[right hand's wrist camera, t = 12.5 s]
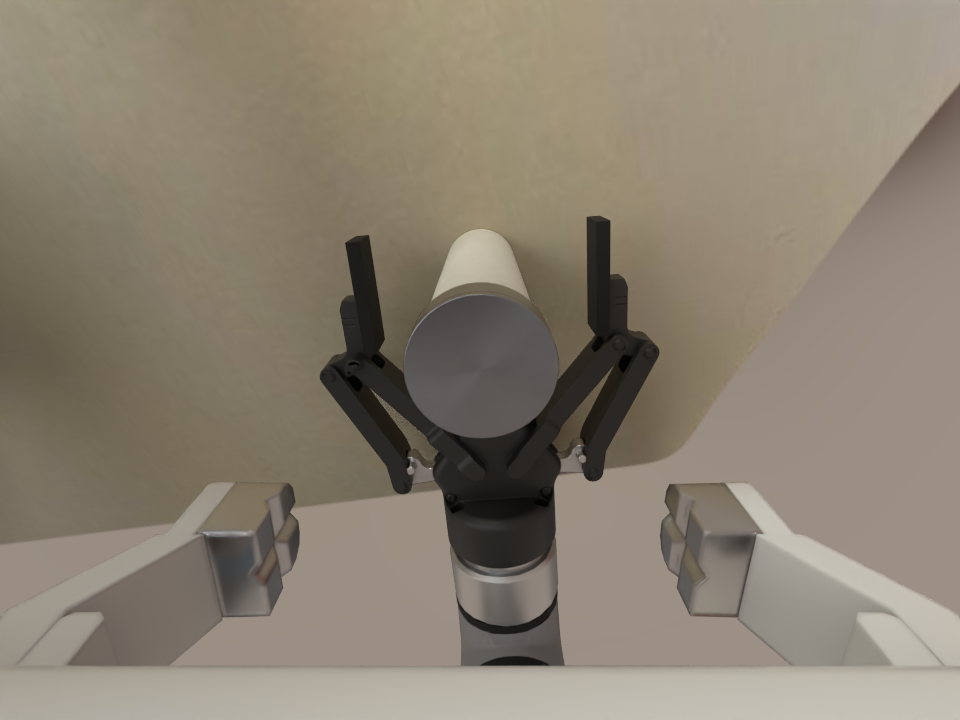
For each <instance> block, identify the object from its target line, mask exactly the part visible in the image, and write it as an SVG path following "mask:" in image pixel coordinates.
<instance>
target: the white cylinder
mask: <svg viewBox="0 0 960 720" xmlns="http://www.w3.org/2000/svg"><path fill="white" fill-rule="evenodd" d="M475 282H488V283H494V284H499V285H503V286H506V287H508V288H511V289H513V290H515V291H517V292H519V293H520V294H522V295H524V296H525V297H526V298H527V299H529V300H530V298H529V295H528V293H527V290H526V287H525V284H524V282H523V279H522V276H521V273H520V270H519V268H518V265H517V262H516V259H515V257H514V254H513V251H512V249H511V247H510V245H509V243H508V242H507V241H506V240H505V239H504V238H503V237H502V236H501V235H499V234H498V233H496V232H493V231H490V230H486V229H476V230H471V231H469V232H466V233H464V234H463V235H461V236H460V237H459V238H458V239H457V240H456V241H455V242H454V243H453V245H452V246H451V248H450V251H449V253H448V256H447V259H446V262H445V264H444V267H443V270H442V273H441V276H440V278H439V281H438V284H437V287H436V290H435V292H434V295H433V298H432V300H433V299H435V298H436V297H437V296H439V295H440V294H442V293H443V292H445V291H447V290H449V289H451V288H454V287H456V286H459V285H463V284H467V283H475Z"/></svg>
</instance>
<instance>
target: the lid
mask: <svg viewBox="0 0 960 720" xmlns="http://www.w3.org/2000/svg"><path fill="white" fill-rule="evenodd" d="M403 367H404V378H405V383H406V386H407V389H408V392H409V394H410V396H411V398H412V400H413V402H414V403H415V405H416V406H417V408H418V409H419V410H420V411H421V412H422V413H423V415H424V416H426V417H427V418H428V419H429V420H430V421H431V422H433V423H434V424H436V425H437V426H438V427H440V428H442V429H444V430H446V431H448V432H451V433H453V434H456V435H460V436H464V437H470V438H493V437H498V436H503V435H506V434H509V433H512V432H514V431H516V430H518V429H520V428H522V427H523V426H525V425H527V424H528V423H530V422H531V421H532V420H533V419H534V418H535V417H537V416H538V414H539V413H540V412H541V411H542V410H543V409H544V408H545V406H546V405H547V403H548V402H549V400H550V398H551V396H552V394H553V392H554V389H555V386H556V383H557V378H558V370H559V362H558V354H557V349H556V345H555V343H554V340H553V337H552V335H551V332H550V330H549V328H548V325H547V323H546V321H545V319H544V317H543V315H542V314H541V313H540V311H539V310H538V308H537V307H536V306H535V305H534V304H533V303H532V302H531V301H530V300H529V299H527V298H526V297H525V296H524V295H522V294H520V293H519V292H517V291H515V290H513V289H511V288H508V287H506V286H503V285H499V284H494V283H488V282H475V283H467V284H463V285H459V286H456V287H454V288H451V289H449V290H447V291H445V292H443V293H442V294H440V295H439V296H437V297H436V298H435V299H433V300H432V301H431V302H430V303H429V304H428V305H427V306H426V307H425V309H424V310H423V311H422V313H421V314H420V316H419V317H418V319H417V321H416V323H415V326H414V328H413V331H412V333H411V335H410V338H409V340H408V343H407V346H406V350H405V354H404V362H403Z"/></svg>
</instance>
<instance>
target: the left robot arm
mask: <svg viewBox="0 0 960 720" xmlns="http://www.w3.org/2000/svg"><path fill="white" fill-rule="evenodd" d="M345 244H346V250H347V256H348V261H349V267H350V273H351V279H352V285H353V291H354V295H350V296H347V297H346V298H345V299H344V300H343V301H342V303H341V307H340V313H341V319H342V324H343V330H344V335H345V341H346V346H347V352H345V353H343V354H341V355H339V354H337V355H335V356H333V357H332V358H331V360H330V361H329V362H328V364H327V365H326V366H325V367H324V369H323V370H322V371H321V373H320V380H321V382H322V383H323V384H324V386H325V387H326V388H327V390H328V391H329V392H330V393H331V395H332V396H333V397H334V399H335V400H336V401H337V403H338V404H339V405H340V406H341V408H342V409H343V410H344V412H345V413H346V414H347V415H348V417H349V418H350V419H351V421H352V422H353V423H354V424H355V426H356V427H357V428H358V430H359V431H360V432H361V434H362V435H363V436H364V437H365V439H366V440H367V441H368V443H369V444H370V445H371V446H372V448H373V449H374V450H375V452H376V453H377V454H378V456H379V457H380V458H381V459H382V461H383V462H384V463H385V465H386V466H387V469H388V472H389V475H390V479H391V482H392V485H393V488H394V490H395V491H396V492H397V493H399V494H406V493H408V492H409V491H410V490H411V487H412V484H418V483H424V482H430V481H436V483H437V484H438V485H439V486H440V488H441V490H442V492H443V497H444V505H445V513H446V520H447V528H448V536H449V541H450V544H451V548H450V553H451V560H452V567H453V574H454V581H455V588H456V597H457V602H458V609H459V620H460V631H461V666H565V665H564V659H563V653H562V647H561V640H560V629H559V615H558V602H557V593H558V592H557V586H558V575H557V554H556V539H555V531H556V527H555V501H554V483H555V480H556V478H557V476H558V474H559V473H560V472H571V473H584V476H585V478H586V479H587V480H589V481H597V480H599V479H600V478H601V477H602V475H603V469H604V461H605V454H606V450H607V448H608V446H609V445H610V443H611V441H612V439H613V437H614V436H615V434H616V432H617V430H618V428H619V427H620V425H621V423H622V421H623V419H624V418H625V416H626V414H627V412H628V410H629V408H630V407H631V405H632V403H633V401H634V399H635V398H636V396H637V394H638V392H639V390H640V389H641V387H642V385H643V383H644V381H645V380H646V378H647V376H648V374H649V372H650V371H651V369H652V367H653V365H654V363H655V362H656V360H657V358H658V356H659V349H658V347H657V346H656V345H655V344H654V343H653V342H652V341H651V340H650V339H649V337H648V336H647V335H646V334H644V333H643V332H640V331H638V332H634V331H630V330H628V329H627V299H628V298H627V296H628V287H627V284H626V282H625V279H624V278H623V277H621V276H620V275H619V274H612V275H610V220H608V219H606V218H603V217H601V216H591V217H587V293H588V324H589V326H590V327H591V329H592V330H593V332H594V333H595V336H594V338H593V339H592V340H591V341H590V342H589V344H588V345H587V346H586V347H585V348H584V350H583V351H582V352H581V353H580V354H579V356H578V357H577V358H576V359H575V360H574V362H573V363H572V364H571V365H570V366H569V368H568V369H567V370H566V371H565V372H564V374H563V375H562V376H561V377H560V378H559V380H558V381H557V383H556V386H555V389H554V392H553V394H552V396H551V398H550V400H549V402H548V403H547V405H546V406H545V408H544V409H543V410H542V411H541V412H540V413H539V414H538V416H537V417H535V418H534V419H533V420H532V421H531V422H530V423H528V424H527V425H525V426H523V427H522V428H520V429H518V430H516V431H514V432H512V433H509V434H506V435H503V436H498V437H493V438H470V437H464V436H460V435H456V434H453V433H451V432H448V431H446V430H444V429H442V428H440V427H438V426H437V425H436V424H434V423H433V422H431V421H430V420H429V419H428V418H427V417H426V416H424V415H423V413H422V412H421V411H420V410H419V409H418V408H417V406H416V405H415V403H414V402H413V400H412V398H411V396H410V394H409V392H408V389H407V386H406V383H405V378H404V373H403V372H402V371H400V370H399V369H398V368H397V367H396V366H395V365H394V364H393V363H391V362H390V361H389V360H388V359H387V358H386V357H385V356H383V355H382V354H381V353H380V352H379V349H380V347H381V345H382V344H383V342H384V340H385V337H384V330H383V324H382V317H381V311H380V304H379V298H378V291H377V285H376V278H375V272H374V265H373V259H372V252H371V246H370V239H369V235H366V236H356V237H354V238H353V239H351V240H349V241H347V242H346V243H345ZM613 366H614V367H613ZM612 367H613V369H612V371H611V373H610V375H609V376H608V378H607V380H606V382H605V384H604V386H603V388H602V390H601V392H600V394H599V395H598V397H597V399H596V401H595V403H594V405H593V407H592V409H591V411H590V413H589V414H588V416H587V418H586V420H585V422H584V424H583V427H582V430H581V433H580V438H574V439H573V440H572V442H571V443H570V445H569V447H568V449H567V450H565V451H563V452H558V451H557V449H556V448H555V447H554V445H553V444H552V441H553V440H554V439H555V438H556V437H557V435H558V434H559V432H560V428H561V426H562V425H563V424H564V422H565V421H566V420H567V419H568V418H569V417H570V415H571V414H572V413H573V412H574V411H575V410H576V409H577V407H578V406H579V405H580V404H581V403H582V402H583V400H584V399H585V398H586V397H587V396H588V395H589V393H590V392H591V391H592V390H593V389H594V388H595V387H596V385H597V384H598V383H599V382H600V381H601V380H602V378H603V377H604V376H605V375H606V374H607V373H608V371H609V370H610V369H611V368H612ZM370 389H372V390H373V391H374V392H375V393H376V394H378V395H379V396H380V397H381V398H382V399H383V400H385V401H386V402H387V403H388V404H389V405H390V406H392V407H393V408H394V409H395V410H396V411H397V412H399V413H400V414H401V415H402V416H403V417H404V418H406V419H407V420H408V421H409V422H410V423H411V424H413V425H414V426H415V427H416V428H417V429H418V430H420V431H421V432H422V433H423V434H424V435H425V436H426V437H427V439H428V441H429V443H430V444H431V445H432V446H433V447H434V448H435V449H436V450H438V451H439V452H438V454H437V455H436V457H435V459H434V461H428V460H426V459H424V458H423V456H422V455H421V453H420V452H419V451H418V450H417V449H412V450H411V448H410V445H409V443H408V441H407V439H406V437H405V436H404V434H403V433H402V432H401V430H400V429H399V428H398V426H397V425H396V424H395V422H394V421H393V419H392V418H391V417H390V415H389V414H388V413H387V411H386V410H385V409H384V407H383V406H382V405H381V403H380V402H379V401H378V399H377V398H376V397H375V395H374V394H373V392H372V391H371V390H370Z"/></svg>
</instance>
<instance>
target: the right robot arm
mask: <svg viewBox="0 0 960 720" xmlns="http://www.w3.org/2000/svg"><path fill="white" fill-rule="evenodd" d="M294 503H295V498H294V492H293V488H292V486H291V485H290V484H289V483H249V482H239V483H237V482H214V483H211V484H208V485H207V486H206V487H205V488H204V490H203V491H202V492H201V493H200V494H199V495H198V497H197V498H196V499H195V500H194V501H193V502H192V504H191V505H190V506H189V507H188V508H187V509H186V511H185V512H184V513H183V514H182V515H181V516H180V518H179V519H178V520H177V521H176V522H175V523H174V525H173V526H172V527H171V528H170V529H169V531H168V532H167V533H166V534H157V535H155V536H153V537H151V538H149V539H147V540H145V541H143V542H141V543H139V544H137V545H135V546H133V547H131V548H129V549H127V550H125V551H123V552H121V553H119V554H117V555H115V556H113V557H111V558H109V559H107V560H105V561H103V562H101V563H99V564H97V565H95V566H93V567H91V568H89V569H87V570H85V571H83V572H81V573H79V574H77V575H75V576H73V577H71V578H69V579H67V580H65V581H63V582H61V583H59V584H57V585H55V586H53V587H51V588H49V589H47V590H46V591H44V592H42V593H40V594H38V595H36V596H34V597H32V598H30V599H28V600H26V601H24V602H22V603H20V604H18V605H16V606H14V607H12V608H10V609H8V610H7V611H6V612H4V613H3V614H2V615H1V616H0V720H960V616H959V615H958V614H957V613H956V612H955V611H954V610H952V609H950V608H948V607H946V606H944V605H942V604H940V603H938V602H936V601H934V600H932V599H930V598H928V597H926V596H924V595H922V594H920V593H918V592H916V591H914V590H912V589H910V588H908V587H906V586H904V585H902V584H900V583H898V582H896V581H894V580H892V579H890V578H888V577H887V576H885V575H883V574H881V573H879V572H877V571H875V570H873V569H871V568H869V567H867V566H865V565H863V564H861V563H859V562H857V561H855V560H853V559H851V558H849V557H847V556H845V555H843V554H841V553H839V552H837V551H835V550H833V549H831V548H829V547H827V546H825V545H823V544H821V543H819V542H817V541H815V540H813V539H811V538H809V537H807V536H805V535H803V534H794V533H793V532H792V531H791V529H790V528H789V527H788V526H787V525H786V524H785V522H784V521H783V520H782V519H781V518H780V517H779V515H778V514H777V513H776V512H775V511H774V510H773V508H772V507H771V506H770V505H769V504H768V503H767V501H766V500H765V499H764V498H763V497H762V496H761V494H760V493H759V492H758V491H757V490H756V489H755V487H754V486H753V485H752V484H750V483H748V482H726V483H700V484H669V487H668V489H667V491H666V497H665V503H666V505H667V507H668V509H669V511H670V513H669V514H668V515H667V516H666V517H665V518H664V519H663V520H662V525H661V534H660V538H661V550H662V553H663V557H664V560H665V563H666V565H667V567H668V569H669V571H671V572H672V573H674V574H675V575H676V576H678V577H679V578H678V584H677V589H678V591H679V593H680V595H681V597H682V599H683V602H684V604H685V606H686V608H687V610H688V612H689V614H690V616H708V617H738V620H739V621H740V622H741V623H742V624H743V625H744V626H746V627H747V628H748V629H749V630H750V631H751V632H753V633H754V634H755V635H756V636H757V637H758V638H760V639H761V640H762V641H763V642H764V643H766V644H767V645H768V646H769V647H770V648H771V649H773V650H774V651H775V652H776V653H777V654H778V655H779V656H781V657H782V658H783V659H784V660H785V661H787V662H788V663H789V664H790V665H791V666H169V665H170V664H171V663H173V662H174V661H175V660H176V659H177V658H178V657H180V656H181V655H182V654H183V653H184V652H185V651H187V650H188V649H189V648H190V647H191V646H192V645H194V644H195V643H196V642H197V641H198V640H199V639H201V638H202V637H203V636H204V635H205V634H206V633H208V632H209V631H210V630H211V629H212V628H213V627H215V626H216V625H217V624H218V623H219V622H220V621H222V617H251V616H270V614H271V612H272V610H273V608H274V606H275V604H276V602H277V600H278V597H279V595H280V593H281V591H282V589H283V584H282V578H281V577H282V576H284V575H285V574H286V573H288V572H289V571H291V569H292V567H293V565H294V563H295V560H296V557H297V553H298V548H299V524H298V520H297V519H296V518H295V517H294V516H293V515H292V514H291V513H290V511H291V509H292V507H293V505H294Z"/></svg>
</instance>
